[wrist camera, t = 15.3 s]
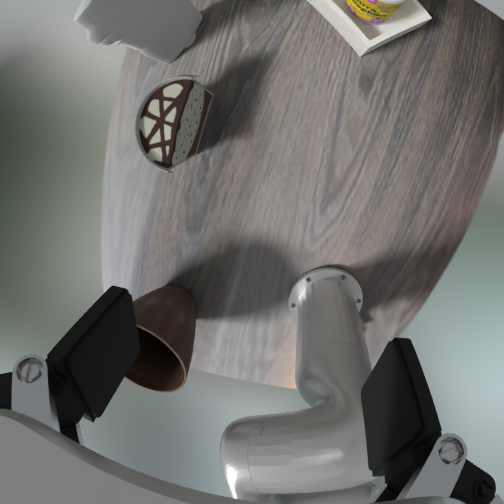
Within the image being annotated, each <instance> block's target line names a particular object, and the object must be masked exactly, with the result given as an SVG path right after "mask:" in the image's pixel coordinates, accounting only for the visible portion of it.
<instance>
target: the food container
mask: <svg viewBox="0 0 504 504" xmlns="http://www.w3.org/2000/svg"><path fill="white" fill-rule="evenodd" d="M194 77H198V75H183V76H176V77H172V78H169V79H167V80H165V81H163V82H161V83H160V84H158V85H157V86H155V87H154V88H153V89H152V90H151V91H150V92H149V93H148V94H147V95H146V96H145V98H144V99H143V101H142V102H141V104H140V106H139V109H138V111H137V115H136V120H135V136H136V140H137V144H138V146H139V149H140V151H141V152H142V154H143V155H144V157H145V158H146V159H147V160H148V161H149V162H150V163H151V164H152V165H154V166H155V167H157V168H158V169H160V170H162V171H165V172H167V173H172V171H169V170H170V169H172V168H174V167H176V166H177V165H179V164H181V163H183V162H184V161H186V160H188V159H190V158H191V157H193V156H195V155H197V151H198V147H199V144H200V140H201V136H202V133H203V129H204V126H205V122H206V119H207V115H208V112H209V109H210V105H211V102H212V99H213V96H214V94H213V93H211V92H210V91H209V90H208V89H207V88H205V87H204V86H203V85H202V84H200V83H199V82H198V81H197V80H195V79H194Z"/></svg>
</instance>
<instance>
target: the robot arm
mask: <svg viewBox="0 0 504 504" xmlns="http://www.w3.org/2000/svg"><path fill="white" fill-rule="evenodd" d="M342 275H343V276H342ZM308 277H310V278H308ZM362 303H363V293H362V289H361V287H360V284H359V283H358V281H357V279H356V278H355V277H354V276H353V275H351V274H350V273H348V272H347V271H344V270H342V269H338V268H333V267H324V268H318V269H315V270H312V271H309V272H308V273H306V274H304V275H303V276H301V277H300V278H299V279H298V280H297V281H296V282H295V283H294V285H293V287H292V288H291V290H290V294H289V300H288V307H289V311H290V313H291V315H292V317H293V319H294V320H295V321H296V322H297V345H296V369H295V382H296V386H297V389H298V391H299V394H300V395H301V397H302V398H303V399H304V401H305V402H306V403H307V404H308V405H309V406H310V407H311V408H309V409H304V410H299V411H294V412H286V413H279V414H268V415H258V416H249V417H244V418H240V419H237V420H235V421H233V422H232V423H231V424H229V425H228V426H227V427H226V429H225V430H224V432H223V435H222V438H221V442H220V460H221V467H222V471H223V474H224V478H225V481H226V484H227V487H228V490H229V492H230V495H231V498H229V497H224V496H219V495H215V494H210V493H206V492H202V491H197V490H194V489H190V488H186V487H183V486H179V485H176V484H173V483H169V482H167V481H163V480H160V479H158V478H155V477H152V476H149V475H146V474H144V473H141V472H138V471H136V470H133V469H131V468H129V467H126V466H124V465H121V464H119V463H117V462H115V461H113V460H110V459H108V458H106V457H104V456H102V455H100V454H98V453H96V452H94V451H92V450H90V449H88V448H86V447H85V446H84V442H83V438H82V434H81V429H80V425H79V421H80V420H81V418H82V417H84V418H85V419H88V420H90V421H92V422H94V421H95V419H96V417H100V416H101V415H102V414H103V412H104V410H105V409H106V407H107V405H108V403H109V402H110V400H111V398H112V397H113V395H114V393H115V392H116V390H117V388H118V387H119V385H120V383H121V382H122V380H123V378H124V377H125V375H126V373H127V372H128V370H129V369H130V367H131V365H132V364H133V362H134V360H135V359H136V357H137V356H138V354H139V351H140V342H139V337H138V331H137V326H136V320H135V314H134V307H133V300H132V296H131V294H129V292H128V290H127V289H125V288H121V287H117V286H111V287H110V288H109V289H108V290H107V291H106V292H105V293H104V294H103V295H102V296H101V297H100V298H99V299H98V300H97V301H96V302H95V303H94V304H93V305H92V307H90V308H89V310H88V311H87V312H86V313H85V314H84V315H83V316H82V317H81V318H80V319H79V320H78V321H77V322H76V323H75V325H74V326H73V327H72V328H71V329H70V330H69V331H68V332H67V333H66V334H65V336H64V337H63V338H62V339H61V340H60V341H59V342H58V344H57V345H56V346H55V347H54V348H53V349H52V350H51V351H50V352H49V354H48V355H47V357H48V358H47V359H46V360H44V359H43V358H42V357H41V356H39V355H36V354H30V355H26V356H24V357H22V358H20V359H19V360H18V361H17V362H16V364H15V366H14V368H13V372H9V373H4V374H0V504H504V502H503V500H502V499H501V498H500V496H499V495H498V494H497V495H495V491H496V485H495V481H494V479H493V478H492V477H491V476H490V475H489V474H488V473H486V472H485V471H483V470H482V469H480V468H479V467H477V466H476V465H474V464H473V463H471V462H470V461H468V460H467V459H466V457H467V448H466V445H465V443H464V442H463V440H462V439H461V438H460V437H459V436H458V435H455V434H449V433H447V434H444V435H442V434H441V431H442V430H441V426H440V422H439V419H438V415H437V412H436V409H435V406H434V403H433V399H432V396H431V393H430V390H429V387H428V384H427V382H426V379H425V376H424V373H423V370H422V368H421V365H420V362H419V359H418V357H417V354H416V352H415V349H414V347H413V344H412V342H411V340H410V339H408V338H394V339H393V340H392V341H389V342H388V344H387V346H386V347H385V349H384V351H383V353H382V355H381V356H380V358H379V360H378V362H377V363H376V365H375V367H374V369H373V370H372V366H371V362H370V357H369V353H368V348H367V344H366V340H365V336H364V332H363V328H362V324H361V320H360V317H359V312H360V310H361V307H362ZM379 476H385V483H384V485H383V486H382V488H381V489H380V490H379V489H378V488H377V486H376V485H375V484H373V483H372V482H370V481H372V480H374V479H375V478H377V477H379Z"/></svg>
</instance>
